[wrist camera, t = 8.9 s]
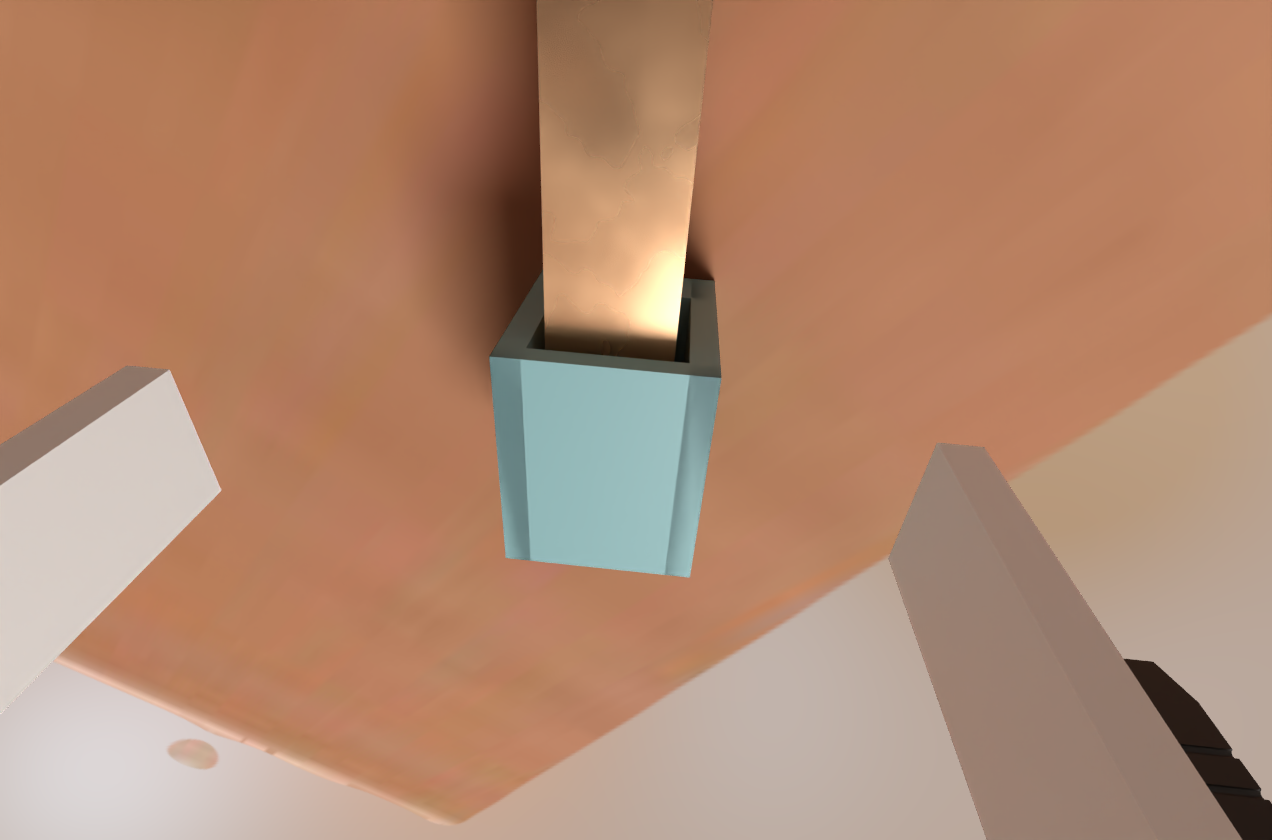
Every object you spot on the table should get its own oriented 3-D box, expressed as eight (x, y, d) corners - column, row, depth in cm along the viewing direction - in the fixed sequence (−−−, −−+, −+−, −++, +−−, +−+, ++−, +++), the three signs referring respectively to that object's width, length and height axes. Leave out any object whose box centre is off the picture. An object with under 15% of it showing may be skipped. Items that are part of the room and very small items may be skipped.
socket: (545, 265, 27) (489, 356, 19) (714, 280, 26) (721, 378, 19) (549, 436, 32) (505, 557, 24) (691, 449, 31) (689, 577, 24)
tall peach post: (566, -432, 14) (521, -588, 11) (754, -424, 14) (775, -580, 10) (568, 449, 28) (549, 513, 25) (661, 459, 28) (656, 524, 25)
